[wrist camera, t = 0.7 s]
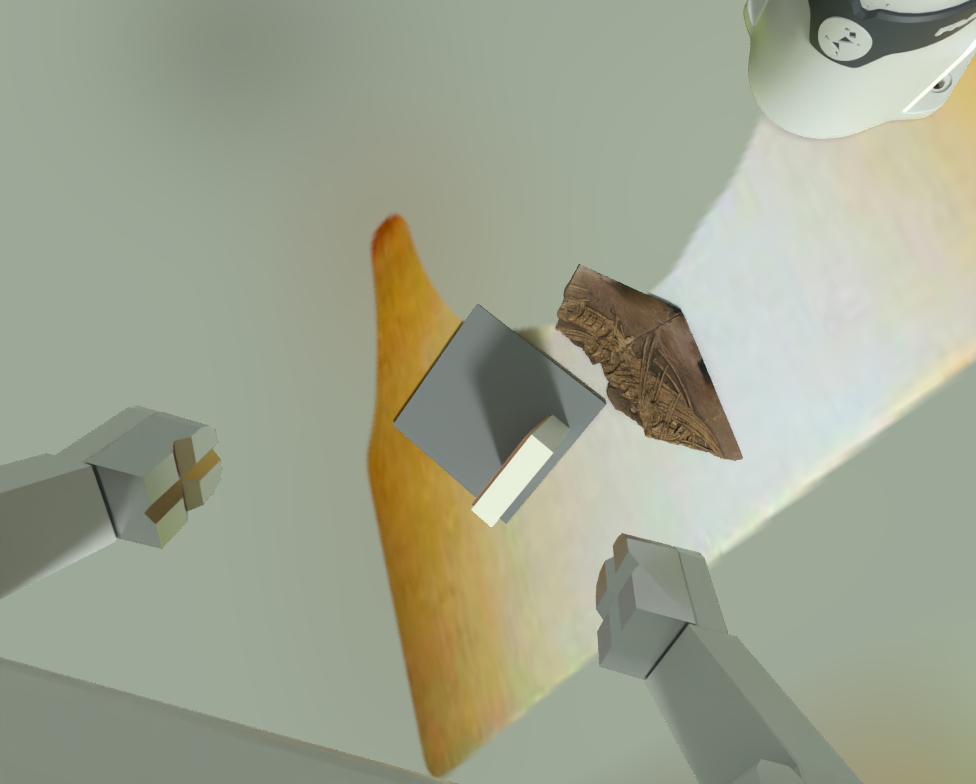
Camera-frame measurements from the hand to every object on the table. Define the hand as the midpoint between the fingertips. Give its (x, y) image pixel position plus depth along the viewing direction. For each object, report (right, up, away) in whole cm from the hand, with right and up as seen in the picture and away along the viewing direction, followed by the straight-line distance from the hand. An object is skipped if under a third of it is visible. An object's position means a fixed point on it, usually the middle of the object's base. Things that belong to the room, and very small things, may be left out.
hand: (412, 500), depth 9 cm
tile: (+7, -5, +43) cm, 44 cm away
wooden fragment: (+19, +5, +40) cm, 44 cm away
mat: (+2, 0, +44) cm, 44 cm away
